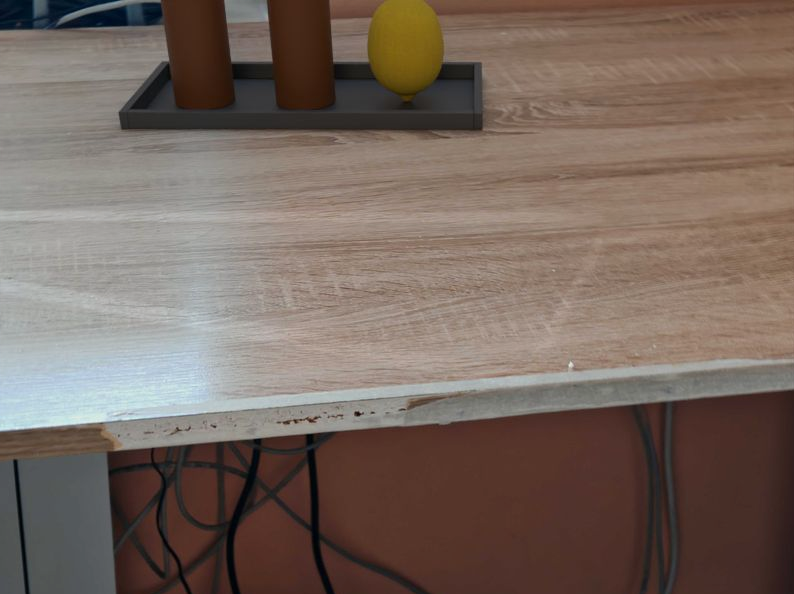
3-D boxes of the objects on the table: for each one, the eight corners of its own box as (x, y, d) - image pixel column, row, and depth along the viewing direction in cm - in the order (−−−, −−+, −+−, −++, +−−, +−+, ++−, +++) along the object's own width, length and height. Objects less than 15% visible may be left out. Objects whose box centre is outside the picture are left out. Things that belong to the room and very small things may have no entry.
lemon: (429, 116, 77) (427, 2, 73) (358, 108, 79) (352, -4, 75) (454, 93, 82) (453, -15, 78) (386, 86, 83) (382, -21, 79)
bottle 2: (271, 110, 79) (253, -76, 72) (281, 91, 82) (264, -88, 76) (332, 110, 79) (319, -76, 72) (338, 91, 82) (327, -87, 76)
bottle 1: (168, 110, 79) (141, -76, 72) (182, 91, 82) (158, -88, 76) (229, 110, 79) (207, -76, 72) (240, 91, 82) (220, -88, 76)
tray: (122, 136, 76) (118, 112, 75) (165, 83, 86) (161, 61, 85) (482, 137, 76) (482, 112, 75) (481, 84, 86) (481, 61, 85)
